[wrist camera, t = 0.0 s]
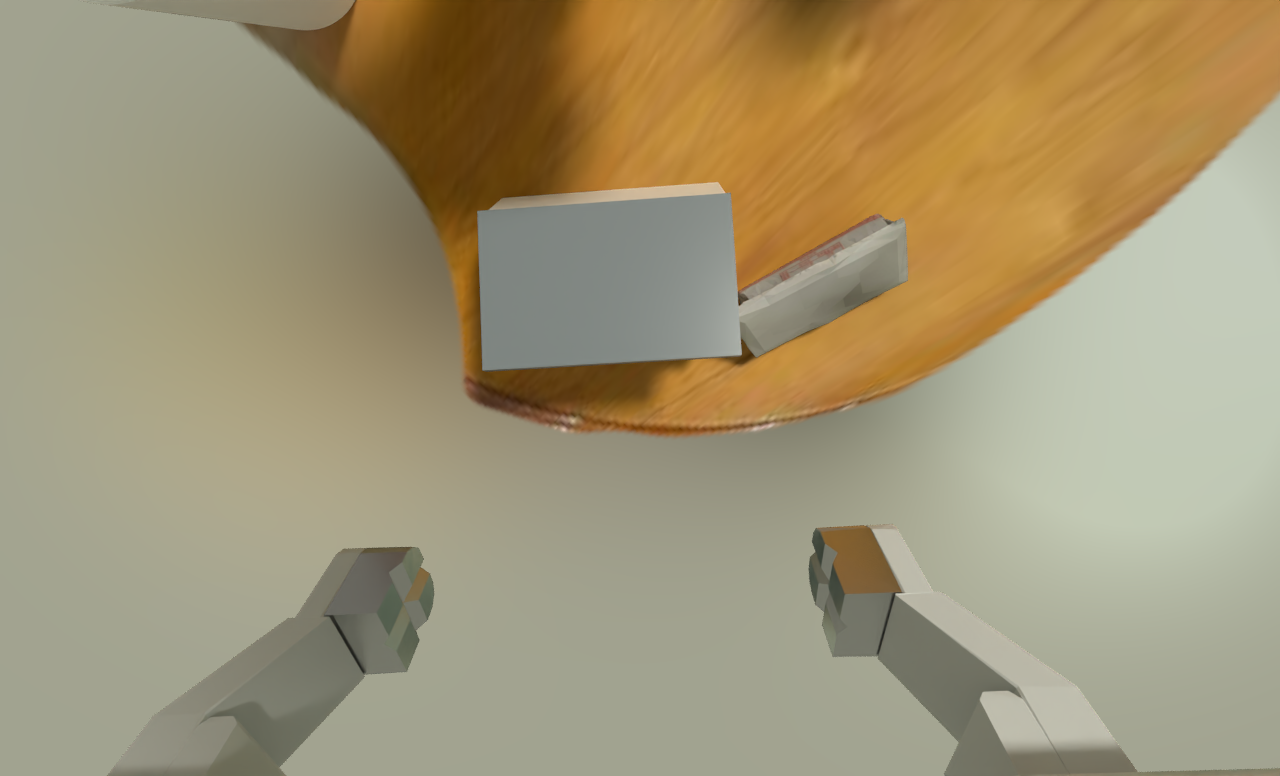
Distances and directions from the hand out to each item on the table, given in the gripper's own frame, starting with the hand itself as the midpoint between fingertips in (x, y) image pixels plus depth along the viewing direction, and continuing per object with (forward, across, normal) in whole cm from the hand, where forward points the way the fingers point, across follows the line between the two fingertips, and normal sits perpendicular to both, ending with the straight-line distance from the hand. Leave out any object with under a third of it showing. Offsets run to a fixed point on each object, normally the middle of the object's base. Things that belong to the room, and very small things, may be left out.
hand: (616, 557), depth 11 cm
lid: (+40, +3, +1) cm, 41 cm away
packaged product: (+48, -20, +15) cm, 54 cm away
